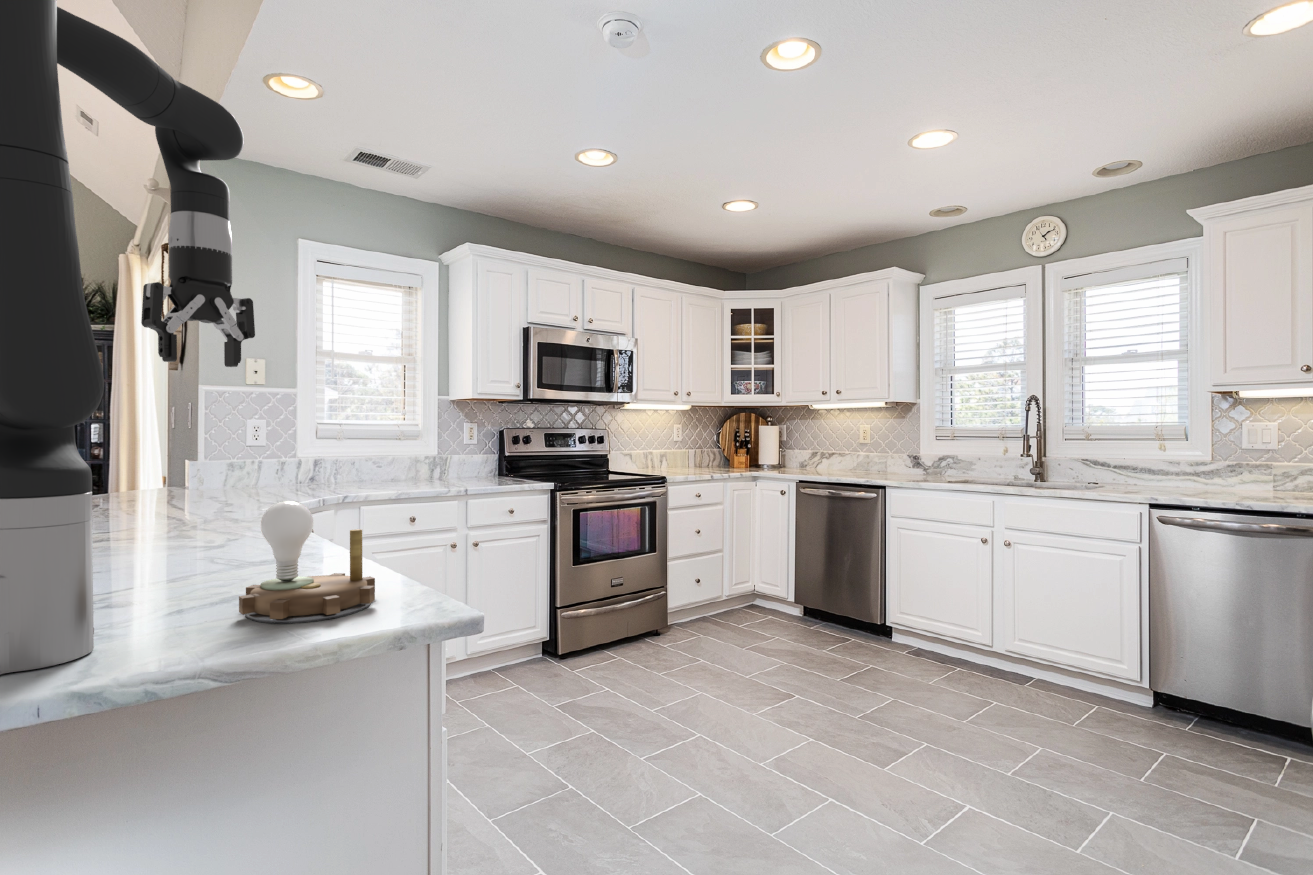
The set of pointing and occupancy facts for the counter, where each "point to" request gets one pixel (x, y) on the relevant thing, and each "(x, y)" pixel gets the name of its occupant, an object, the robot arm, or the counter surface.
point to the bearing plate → (306, 616)
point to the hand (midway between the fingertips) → (201, 364)
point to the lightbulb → (287, 535)
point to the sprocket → (312, 591)
